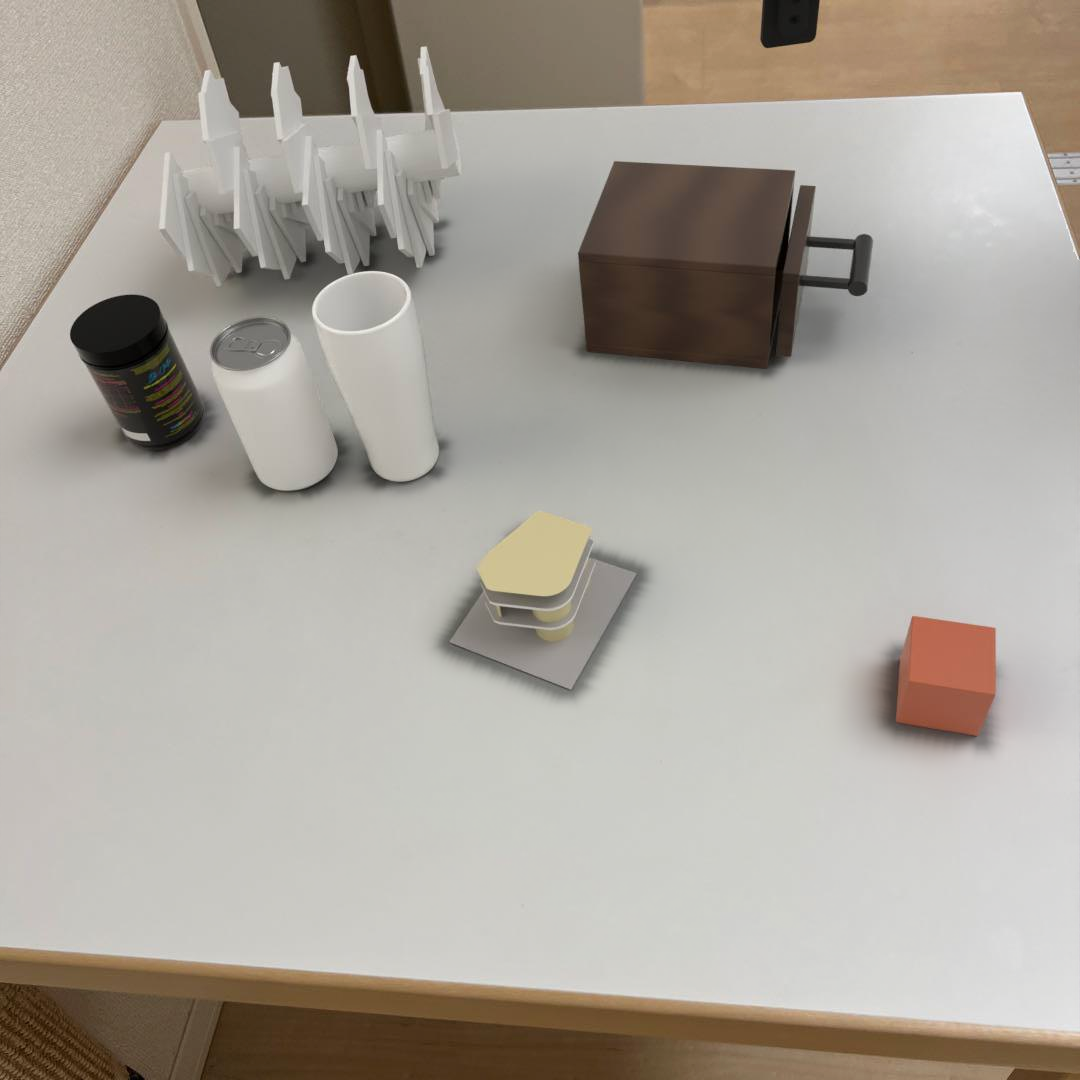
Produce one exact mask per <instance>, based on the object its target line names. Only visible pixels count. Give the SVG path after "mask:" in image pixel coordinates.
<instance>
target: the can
mask: <svg viewBox="0 0 1080 1080" xmlns="http://www.w3.org/2000/svg"><path fill="white" fill-rule="evenodd" d="M209 355H210V358H211V360H212V361H211V374H212V377H213V380H214V382H215V385H216V387H217V389H218V392H219V394H220V396H221V399H222V401H223V404H224V405H225V407H226V410H227V412H228V415H229V417H230V419H231V420H232V424H233V426H234V429H235V430H236V433H237V435H238V437H239V440H240V442H241V444H242V446H243V449H244V450H245V452H246V455H247V457H248V459H249V461H250V464H251V465H252V468H253V470H254V472H255V475H256V477H257V479H259V481H260V482H261V483H262V484H263V485H264V486H266V487H268V488H270V489H273V490H278V491H282V492H297V491H301V490H305V489H308V488H311V487H313V486H315V485H317V484H318V483H320V482H321V481H323V480H324V479H325V478H326V477H328V476H329V474H330V473H331V471H332V470H333V468H334V467H335V465H336V462H337V460H338V457H339V450H338V445H337V443H336V439H335V436H334V433H333V430H332V427H331V424H330V422H329V419H328V415H327V413H326V410H325V408H324V405H323V402H322V399H321V396H320V393H319V390H318V387H317V384H316V382H315V379H314V377H313V373H312V370H311V368H310V365H309V362H308V358H307V356H306V354H305V352H304V348H303V346H302V344H301V343H300V341H299V339H297V337H296V336H295V335H294V334H292V332H291V329H290V328H289V326H288V325H287V324H286V323H285V322H284V321H283V320H281V319H279V318H276V317H272V316H266V315H265V316H263V315H262V316H251V317H247V318H243V319H240V320H238V321H235V322H233V323H231V324H229V325H227V326H226V327H224V328H223V329H221V331H219V333H217V334H216V336H215V337H214V338H213V340H212V342H211V344H210V346H209Z"/></svg>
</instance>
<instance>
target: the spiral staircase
mask: <svg viewBox="0 0 1080 1080" xmlns="http://www.w3.org/2000/svg"><path fill="white" fill-rule="evenodd" d="M417 64H418V71H419V76H420V82H421V90H422V99H423V109H424V117H425V119H424V130H420V131H414V132H407V133H402V134H396V135H391V136H386V135H385V132H384V130H383V124H382V119H381V116H377V115H376V114H375V111H374V110H373V107H372V105H371V101H370V97H369V93H368V89H367V88H368V87H367V83H366V77H365V73H364V69H361V66H360V63H359V60H358V57H357V54H355V55H350V57H349V64H348V67H347V70H348V71H347V75H346V82H347V85H348V90H349V91H348V92H349V105H350V115H351V116H350V117H351V119H352V121H353V123H354V125H355V127H356V129H357V133H358V141H354V142H348V143H342V144H341V143H340V144H335V145H330V146H324V147H317V144H316V142H315V139H314V137H313V135H312V133H311V130H310V125H309V123H308V122H305V120H304V116H303V107H302V100H301V97H300V96H299V95H298V93H297V92H296V90H295V88H294V84H293V83H294V82H293V79H292V76H291V71H290V67H289V65H286V66H282V65H281V63H280V61H277V62H273V66H272V73H271V75H272V78H271V89H270V97H271V100H272V109H273V117H274V125H275V132H276V139H277V141H278V142H279V144H280V145H281V147H282V148H281V149H282V151H283V152H282V153H280V154H275V155H270V156H263V157H258V158H251V157H250V156H249V153H248V151H247V148H246V146H245V145H244V142H243V135H242V130H241V121H240V112H239V111H238V110H237V109H236V107H235V106H234V105H233V104H232V102H231V100H230V97H229V93H228V90H227V85H226V82H225V78H224V77H220V78H215V76H214V74H213V71H212V70H211V69H207V70H204V74H203V79H202V83H201V86H200V87H201V88H200V91H199V92H197V98H198V108H199V117H200V126H201V127H200V128H201V137H202V142H203V143H204V144H205V148H206V150H207V154H208V157H209V161H210V165H209V166H203V167H202V166H201V167H197V168H190V169H184V170H182V168H181V167H180V165H179V163H178V162H177V160H176V159H175V157H174V156H173V153H172V152H171V151H167V152H164V155H163V157H164V158H163V170H162V183H161V184H162V185H161V198H160V210H159V222H158V223H159V224H158V230H159V232H160V234H161V235H162V236H163V237H164V238H165V241H167V243H168V244H169V246H170V248H171V249H172V250H173V251H174V253H175V254H176V255H177V257H178V258H179V260H180V261H183V260H186V265H187V270H188V272H190V273H192V274H197V275H200V276H204V277H212V279H213V281H214V285H215V287H222V286H223V284H224V283H225V281H226V279H227V277H228V275H229V274H230V272H231V270H232V269H234V271H235V272H236V274H239V273H242V272H243V255H244V254H243V251H244V246H245V248H246V250H248V252H249V253H250V255H251V256H252V257H258V261H259V267H260V269H265V270H272V271H273V270H274V271H277V270H280V271H281V273H282V277H283V279H284V280H285V281H286V280H290V279H291V277H292V273H293V270H294V267H295V264H296V261H297V259H298V260H299V262H300V263H305V262H307V245H306V244H307V243H306V241H307V239H306V235H307V234H306V226H310V227H311V228H312V231H313V233H314V235H315V237H316V240H317V242H321V241H323V243H324V252H325V253H326V254H327V255H328V256H329V257H330V258H332V259H333V260H334V261H335V262H336V263H338V264H344V265H345V270H346V273H347V275H350V274H354V273H355V271H356V269H357V267H358V265H359V263H360V261H361V262H362V265H363V267H368V266H370V245H371V242H370V241H371V237H375V236H377V229H376V221H375V220H376V219H375V212H374V209H375V201H376V193H377V207H378V209H379V212H380V214H381V217H382V219H383V222H384V224H385V227H386V229H387V232H388V234H389V236H390V237H389V238H390V239H395V238H396V241H397V247H398V251H400V252H401V253H402V254H404V255H405V256H406V257H407V258H414V262H415V266H416V268H417V269H418V268H423V265H424V261H425V258H426V254H428V256H429V257H432V256H435V254H436V253H435V234H434V233H435V231H434V224H437V223H440V218H439V217H440V216H439V211H438V205H437V199H441V181H442V180H445V179H447V178H452V177H459V176H462V162H461V161H462V160H461V154H460V148H459V143H458V139H457V134H456V131H455V128H454V126H453V120H452V114H451V109H450V108H447V109H446V108H445V105H444V103H443V100H442V97H441V95H440V93H439V90H438V86H437V83H436V79H435V75H434V70H433V66H432V63H431V59H430V54H429V49H428V46H427V45H426V46H420V57H418V58H417ZM250 158H251V159H250Z"/></svg>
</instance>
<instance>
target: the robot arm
mask: <svg viewBox="0 0 1080 1080" xmlns="http://www.w3.org/2000/svg"><path fill="white" fill-rule="evenodd" d="M820 2H821V0H762V3H761V4H762V7H761V19H760V20H761V22H760V36H759V37H760V38H759V40H760V42H761V45H762V46H763V47H764V48H765V49H774V48H780V47H787V46H795V45H802V44H808V43H811V42H813V41H814V40H815V39H816V37H817V31H818V22H819V21H818V20H819V10H820Z"/></svg>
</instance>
